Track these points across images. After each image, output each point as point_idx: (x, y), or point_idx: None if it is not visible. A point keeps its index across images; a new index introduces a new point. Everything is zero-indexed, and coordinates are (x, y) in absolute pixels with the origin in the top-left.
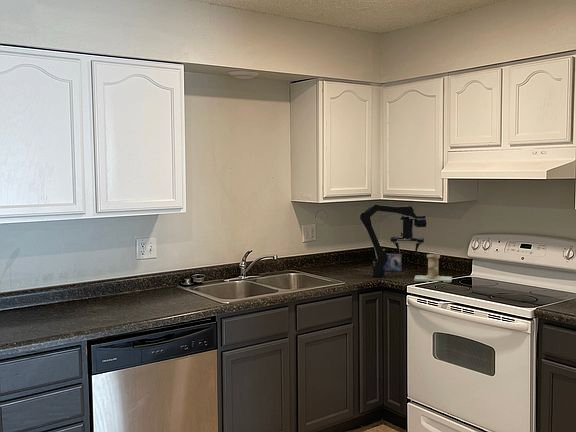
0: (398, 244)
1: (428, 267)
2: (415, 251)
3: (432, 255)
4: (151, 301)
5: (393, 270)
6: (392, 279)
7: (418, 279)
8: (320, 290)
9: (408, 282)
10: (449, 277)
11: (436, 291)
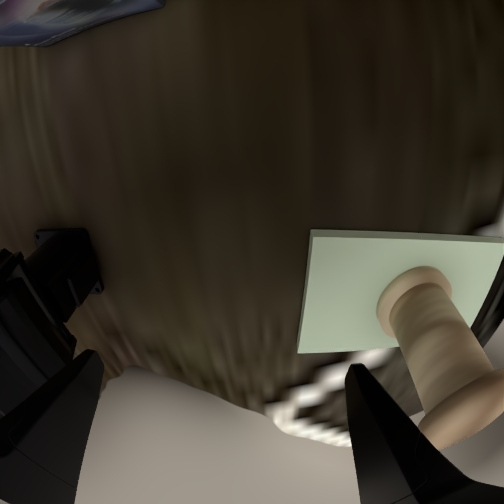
0: (58, 496)
1: (407, 363)
2: (355, 433)
3: (454, 438)
4: None
5: (99, 23)
6: (169, 330)
7: (320, 349)
8: None
9: (266, 378)
10: (491, 269)
11: (350, 441)
